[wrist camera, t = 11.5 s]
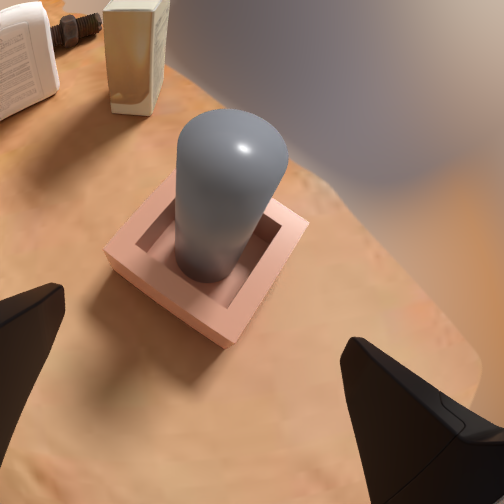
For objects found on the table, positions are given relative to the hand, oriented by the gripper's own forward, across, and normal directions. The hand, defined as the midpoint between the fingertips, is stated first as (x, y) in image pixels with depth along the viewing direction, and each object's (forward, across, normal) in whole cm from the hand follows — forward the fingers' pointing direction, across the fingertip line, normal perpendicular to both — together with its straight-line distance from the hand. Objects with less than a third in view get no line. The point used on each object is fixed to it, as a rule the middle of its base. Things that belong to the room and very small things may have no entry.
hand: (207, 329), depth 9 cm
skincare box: (+26, +10, -7) cm, 29 cm away
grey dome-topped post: (+14, 0, +4) cm, 15 cm away
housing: (+15, 0, +4) cm, 15 cm away
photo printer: (+25, +24, -5) cm, 35 cm away
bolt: (+32, +27, -12) cm, 44 cm away
